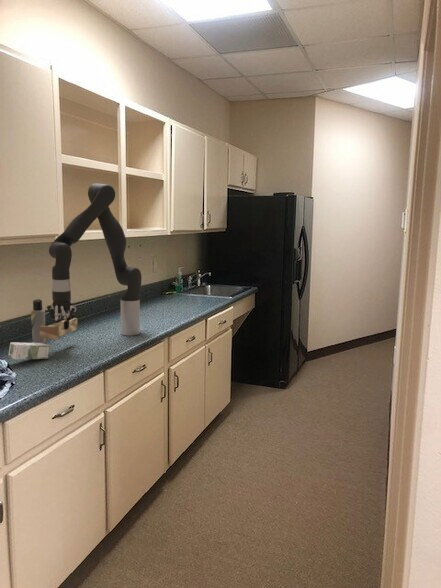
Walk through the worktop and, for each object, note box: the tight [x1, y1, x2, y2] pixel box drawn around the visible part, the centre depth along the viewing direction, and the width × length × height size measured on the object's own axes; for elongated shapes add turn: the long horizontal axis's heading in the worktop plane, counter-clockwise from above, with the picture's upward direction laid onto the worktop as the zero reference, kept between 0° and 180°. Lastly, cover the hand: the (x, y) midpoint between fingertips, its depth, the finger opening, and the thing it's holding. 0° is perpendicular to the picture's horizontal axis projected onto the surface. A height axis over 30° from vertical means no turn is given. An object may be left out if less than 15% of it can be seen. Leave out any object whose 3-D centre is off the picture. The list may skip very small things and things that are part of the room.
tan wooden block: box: [40, 317, 78, 341], centre depth 196 cm, size 20×8×5 cm, turn 166°
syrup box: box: [7, 341, 51, 360], centre depth 181 cm, size 6×6×14 cm
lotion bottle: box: [30, 298, 47, 344], centre depth 206 cm, size 6×6×20 cm
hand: (62, 328), depth 197 cm, fingers closed on tan wooden block, 3 cm apart
